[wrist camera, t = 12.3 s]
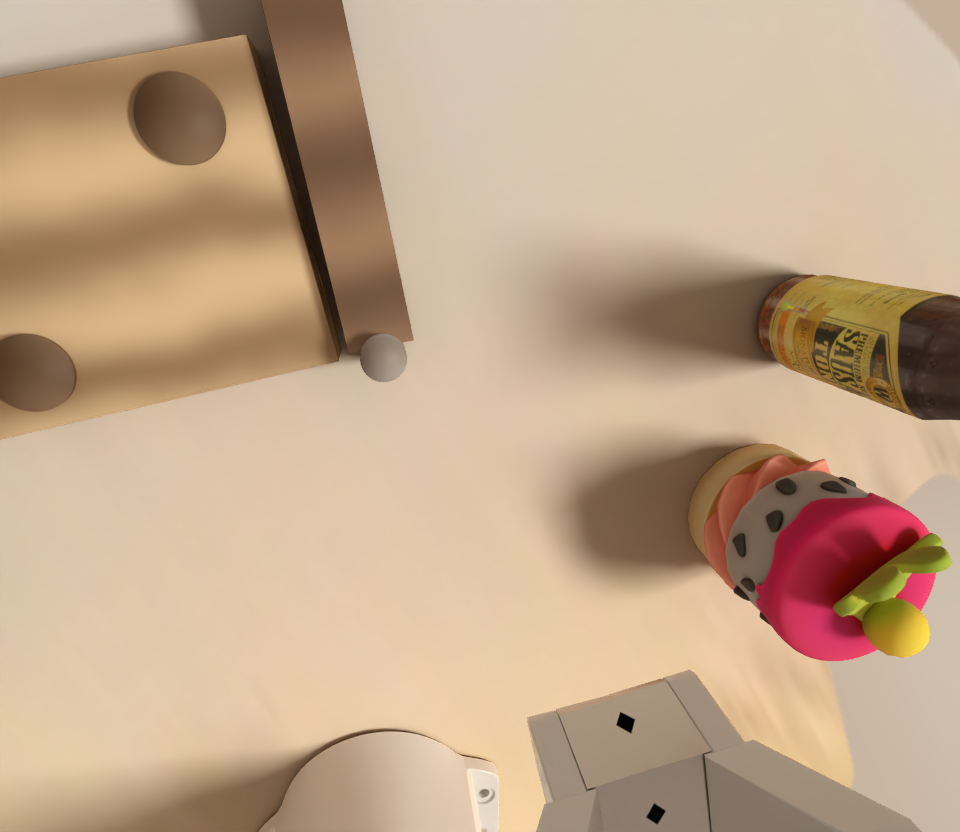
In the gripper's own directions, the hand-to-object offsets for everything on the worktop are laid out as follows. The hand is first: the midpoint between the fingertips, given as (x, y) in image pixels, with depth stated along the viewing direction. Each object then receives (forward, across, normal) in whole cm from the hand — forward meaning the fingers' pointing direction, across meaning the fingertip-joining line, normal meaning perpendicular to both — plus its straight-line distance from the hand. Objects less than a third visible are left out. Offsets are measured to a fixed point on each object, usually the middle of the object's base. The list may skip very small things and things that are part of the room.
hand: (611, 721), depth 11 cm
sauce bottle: (+29, +24, -3) cm, 38 cm away
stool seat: (+29, -15, +10) cm, 34 cm away
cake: (+29, +20, -16) cm, 39 cm away
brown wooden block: (+29, -3, +11) cm, 31 cm away
